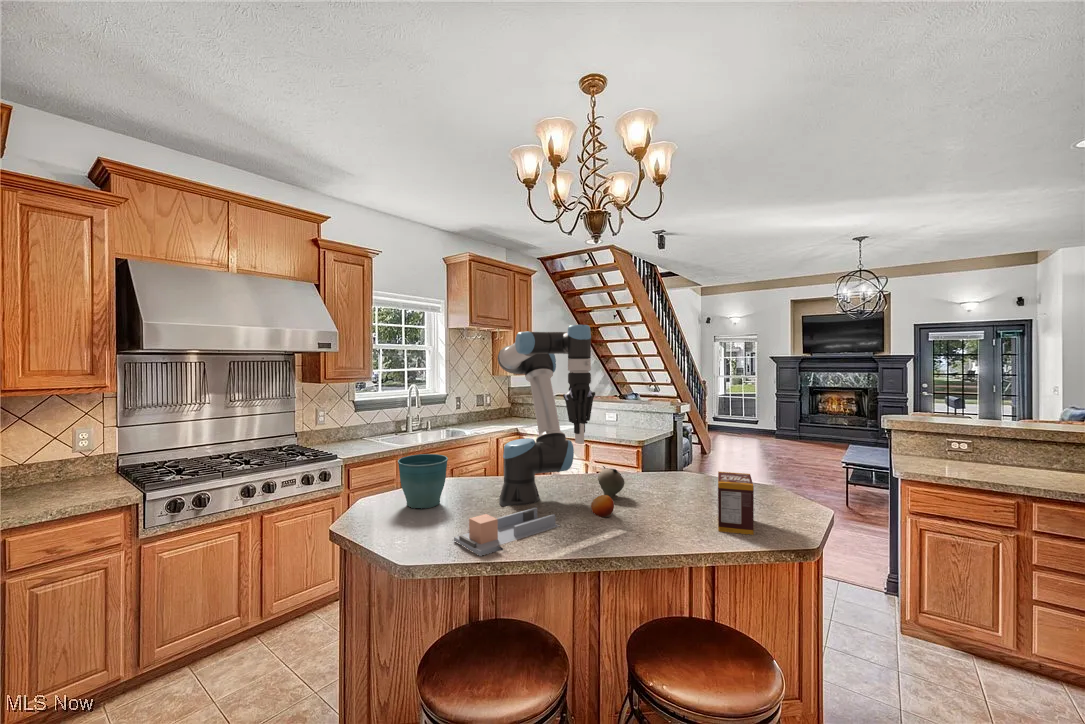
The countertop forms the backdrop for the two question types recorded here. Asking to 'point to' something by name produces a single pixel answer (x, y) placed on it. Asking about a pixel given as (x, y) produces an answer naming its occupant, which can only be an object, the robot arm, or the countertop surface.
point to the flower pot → (423, 479)
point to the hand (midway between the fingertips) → (579, 443)
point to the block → (483, 528)
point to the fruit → (602, 506)
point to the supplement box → (735, 503)
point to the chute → (510, 530)
